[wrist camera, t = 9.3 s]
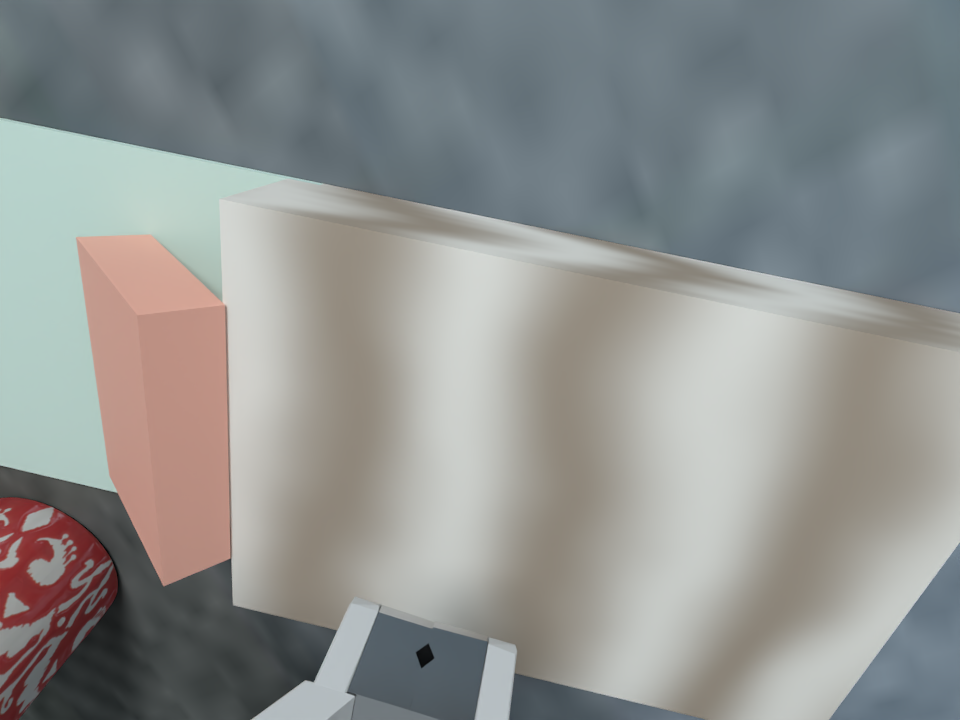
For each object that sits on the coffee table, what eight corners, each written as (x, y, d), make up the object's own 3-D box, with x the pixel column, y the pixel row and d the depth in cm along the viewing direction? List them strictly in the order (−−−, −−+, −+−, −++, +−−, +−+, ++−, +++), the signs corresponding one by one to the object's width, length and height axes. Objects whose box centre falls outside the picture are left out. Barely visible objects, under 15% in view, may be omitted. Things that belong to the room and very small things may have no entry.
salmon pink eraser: (224, 304, 14) (137, 315, 13) (230, 558, 18) (163, 586, 17) (150, 234, 18) (75, 236, 17) (168, 459, 22) (109, 475, 21)
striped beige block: (965, 314, 16) (1081, 377, 12) (770, 639, 22) (810, 744, 19) (292, 177, 17) (219, 199, 13) (284, 525, 23) (233, 605, 19)
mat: (324, 183, 17) (320, 185, 17) (307, 531, 23) (304, 536, 23) (-108, 95, 18) (-119, 95, 17) (-12, 456, 24) (-18, 460, 23)
